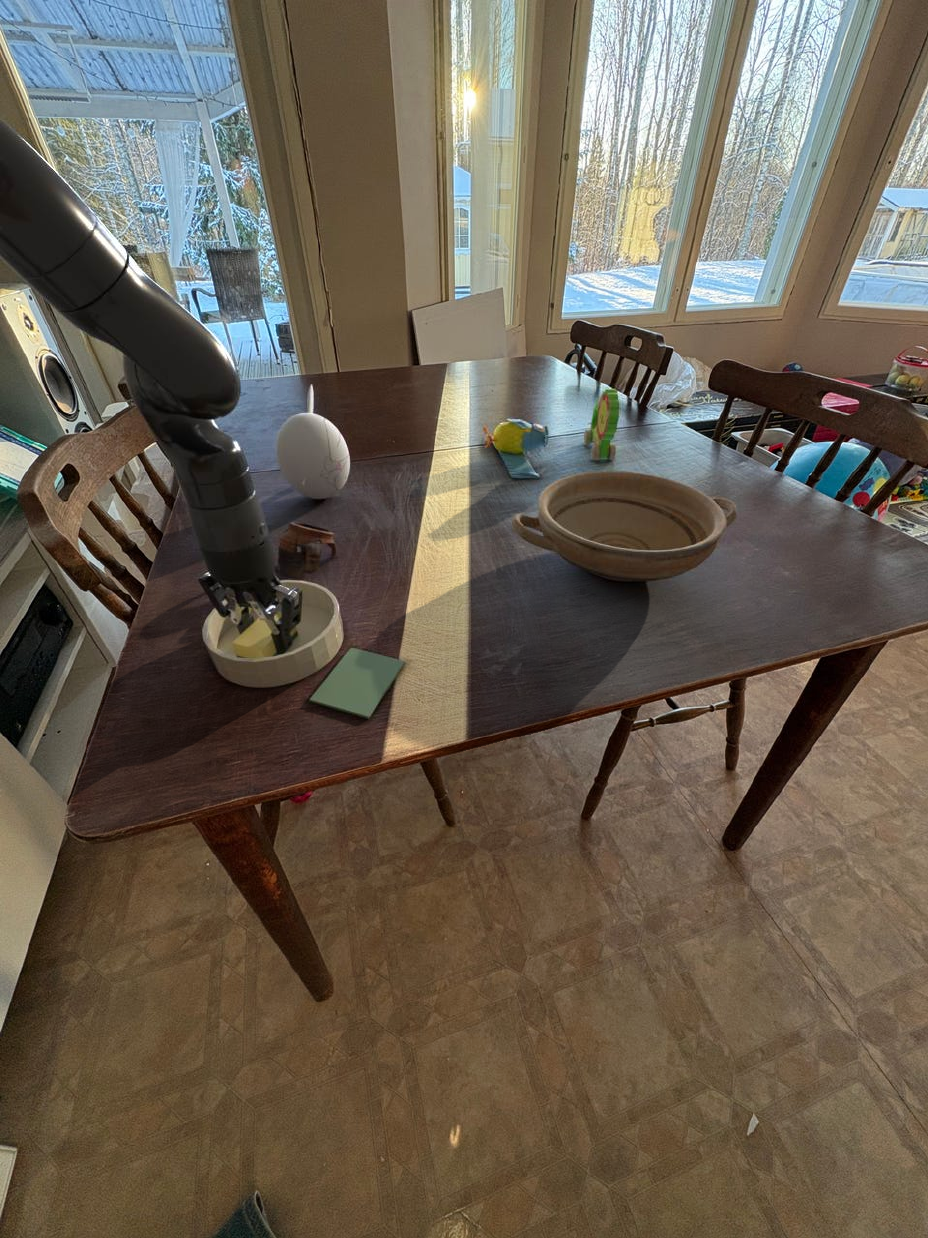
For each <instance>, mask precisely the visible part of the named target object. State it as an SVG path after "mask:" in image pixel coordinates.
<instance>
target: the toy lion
mask: <svg viewBox="0 0 928 1238" xmlns="http://www.w3.org/2000/svg"><path fill="white" fill-rule="evenodd" d="M593 407H594V408H593V410H592V416H591V422H590V428H589V429H585V431H584V434H583V444H584V446H590V445H591V444H592V446H591V447H590V448H591V449H590V458H591V461H598V460H599V459H607V461H614V460H615V458H616V453H617V449H616V448H617V447H616V444H615V443H611V441H612V440H613V439H614V437H615V434H616V432H617V429H618V423H619V418H620V401H619V394H618V392H617V389H616V388H605V390H603V391H602V393H601V396H600V397H599V400H598V401H597V402H596V403H595V405H594V406H593Z"/></svg>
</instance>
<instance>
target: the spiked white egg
mask: <svg viewBox="0 0 928 1238" xmlns="http://www.w3.org/2000/svg"><path fill="white" fill-rule="evenodd" d="M313 388H314V387H313V384H312V383H311V384H310V386H309V389H308V391H307V398H306V406H307V407H306V412H300V413H297V414H296V413H295V414H293V415H292V416H290V417H289V418H288V419H286V420H285V421H284V423H283V424H282V425H281V427H280V428H279V430H278V433H277V436H276V440H275V457H276V462H277V465H278V468H279V470H280V472H281V475H282V476H283V478H284V479H285V481H286V482H287V483H288V485H289V486H291V487H292V489H294V490H295V491H296V492H297V493H299V494H300V495H302V496H304V497H305V498H306V497H307V498H309V499H313V500H323V499H324V500H325V499H329V498H331V497H333V496H335V495H336V494H338V493H339V492H340V491H341V490H342V489H343V488H344V486H345V484H346V483H347V481H348V478H349V475H350V469H351V458H350V452H349V447H348V446H347V443H346V440H345V438H344V437H343V435H342V433H341V432H340V430H339V429H338V428H337V426H335V425H334V423H332V422H331V421H330V420H329V419H327V418H326V417H323V416H322V415H320V414H317V413H314V400H315V399H314V389H313Z"/></svg>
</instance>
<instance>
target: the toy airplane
mask: <svg viewBox="0 0 928 1238" xmlns="http://www.w3.org/2000/svg"><path fill="white" fill-rule="evenodd" d="M506 420H507V421H504V422H501V423H499V424H498V425H497V426H496V427H495V429H494V430H493V434H490V432H489V431H488V429H487V427H486V426H481V427H482V430H483V431H484V441H483V446H485V449H487V448H489V447H490V446H491V445H493V446H494V448H495V449H496V450H497V451H498V453H499V456H500V458H501V460H502V461H503V463H504V465H505V466H506V469H507V471H508V474H509V475H510V477H511V478H512V479H524V480H529V479H540V475H539V474H538V473H536V471H535V470H534V468H533V466H532V465H531V463H530V462H529V460H528V458H527V456H526V455H525V453H527V452H530V451H533V450H536V449H538V448H541V447H544V448H546V446H547V445H548V443H549V435H550V433H549V429H548V425H545V426H544V425H542V424H540V423H537V422H528V421H525V420H523V419H519V418H518V419H514V418H507V419H506Z"/></svg>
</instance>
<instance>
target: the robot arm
mask: <svg viewBox="0 0 928 1238" xmlns="http://www.w3.org/2000/svg"><path fill="white" fill-rule="evenodd" d="M0 260H2V261H3V263H5V264H6V265H7V266H8V267H9V268H10V269H11V270H12V271H13V272H14V273H15V274H16V275H17V276H18V277H19V278H20V279H22V281H24V282H25V283H26V284H27V285H28V286H29V287H30V288H31V289H32V290H34V292H36V293H37V294H38V295H39V296H40V297H41V298H42V299H43V300H44V301H45V302H47V303H48V304H49V305H50V306H51V307H52V308H53V309H55V311H57V312H58V313H59V314H60V315H61V316H62V317H63V318H64V319H65V320H67V321H68V322H69V323H70V324H71V325H73V326H74V327H75V328H77V329H78V330H79V331H80V332H82V333H83V334H85V335H87V336H89V337H91V338H93V339H96V340H98V341H101V342H103V343H105V344H107V345H109V346H110V347H112V348H115V349H116V350H117V351H119V352H120V353H121V354H122V369H123V375H124V380H125V384H126V387H127V389H128V392H129V394H130V397H131V399H132V401H133V403H134V405H135V406H136V408H137V410H138V412H139V413H140V415H141V417H142V419H143V420H144V422H145V423H146V425H147V427H148V428H149V430H150V432H151V434H152V435H153V437H154V439H155V440H156V442H157V443H158V445H159V446H160V448H161V449H162V450H163V452H164V453H165V455H166V456H167V458H168V459H169V461H170V463H171V465H172V468H173V472H174V474H175V477H176V480H177V484H178V486H179V488H180V491H181V494H182V497H183V499H184V502H185V506H186V510H187V514H188V519H189V523H190V526H191V528H192V531H193V534H194V537H195V540H196V542H197V545H198V547H199V549H200V553H201V555H202V558H203V561H204V564H205V566H206V569H207V572H206V573H205V574H203V575H202V576H200V577H199V578H198V583H199V585H200V586H201V588H202V590H203V591H204V593H205V594H206V596H207V598H208V599H209V600H210V602H211V604H212V605H213V607H214V608H215V609H216V610H217V612H218V613H219V615H220V616H221V617H223V618H225V617H227V616H228V617H230V618H231V620H232V622H233V623H234V624H236V625H237V628H238V631H239V633H240V635H241V634H242V633H243V632H244V631H245V630H246V629H247V628H248V627H250V626H251V625H252V624H253V623H254V622H255V620H254V617H253V616H251V615H249V614H251V608H252V609H254V610H255V612H256V614H257V615H258V617H259V619H260V620H262V621H265V622H266V624H267V625H268V627H269V629H270V630H271V632H272V633H271V636H272V639H273V641H274V645H275V648H276V651H277V653H278V654H284V653H285V652H286V651H287V650H288V649H289V648H290V647H291V646H292V643H293V642H292V638H291V635H290V632H291V631H292V630H293V629H294V628H295V627H296V625H298V624H299V623H300V622H301V611H302V596H303V592H302V590H301V589H300V588H298V587H295V588H294V589H293V590H290V589H288V588H285V587H283V586H281V582H280V581H281V579H279V578H278V576H277V575H276V572H275V567H276V562H277V557H276V554H275V551H274V547H273V543H272V540H271V536H270V533H269V529H268V525H267V521H266V517H265V514H264V510H263V506H262V504H261V502H260V500H259V498H258V495H257V491H256V489H255V485H254V482H253V478H252V475H251V471H250V467H249V464H248V461H247V456H246V453H245V451H244V449H243V447H242V446H241V443H239V442H238V440H237V439H235V438H233V437H232V436H231V435H229V434H228V433H226V432H225V431H224V430H222V429H221V428H220V427H219V426H218V424H217V423H216V421H215V420H219V419H222V418H225V417H226V416H228V415H229V414H231V413H232V412H233V411H234V410H235V409H236V407H237V406H238V404H239V401H240V398H241V393H242V384H241V377H240V374H239V370H238V368H237V365H236V363H235V361H234V359H233V358H232V356H231V354H230V353H229V351H228V349H227V348H226V347H225V346H224V345H223V343H222V341H220V340H219V339H218V337H217V336H216V335H215V334H214V332H212V331H211V330H210V329H209V328H208V327H207V326H206V325H205V324H204V323H202V321H200V320H199V318H197V317H196V316H195V315H193V313H191V312H190V311H189V310H188V309H187V308H186V307H185V306H183V305H182V304H181V303H180V302H179V301H178V300H177V299H176V298H175V297H174V296H172V295H171V294H170V293H169V292H167V290H165V289H164V288H163V287H161V286H160V285H159V284H157V283H156V282H155V281H154V280H153V279H151V278H150V276H148V275H147V274H146V273H145V272H144V270H142V269H141V268H140V267H139V265H138V264H137V262H135V260H134V259H133V258H132V256H131V255H130V254H129V253H128V252H127V251H126V249H125V247H124V246H123V245H122V244H121V243H120V242H119V241H118V239H117V238H115V236H114V235H113V234H112V233H111V232H110V230H109V229H108V228H107V227H106V225H105V224H104V223H103V222H102V221H101V220H100V218H99V217H98V216H97V214H95V213H94V212H93V210H91V208H90V207H89V206H88V204H87V203H85V201H84V200H83V199H82V198H81V197H80V196H79V194H77V192H76V191H75V190H74V188H73V187H71V186H70V185H69V183H68V182H66V179H64V178H63V177H62V176H61V175H60V174H59V172H58V171H56V170H55V168H53V167H52V166H51V164H49V162H48V161H47V160H45V159H44V157H42V155H40V154H39V153H38V152H37V150H35V149H34V148H33V147H32V146H31V145H30V144H29V143H28V142H27V140H25V139H24V138H23V137H22V136H21V135H20V134H19V133H17V131H15V130H14V128H12V127H11V126H10V125H9V124H8V123H7V122H6V121H5V120H4V119H2V117H0ZM223 598H224V600H225V599H226V601H227V604H226V605H225V606H224V605H223V603H222V602H223V600H222V599H223ZM270 604H272V605H271V606H270V607H269V608H268V609H267V610H265V609H266V608H267V607H268V606H269V605H270ZM275 615H277V617H278V619H279V620H278V621H277V622H276V621H275V619H274V616H275Z"/></svg>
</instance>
